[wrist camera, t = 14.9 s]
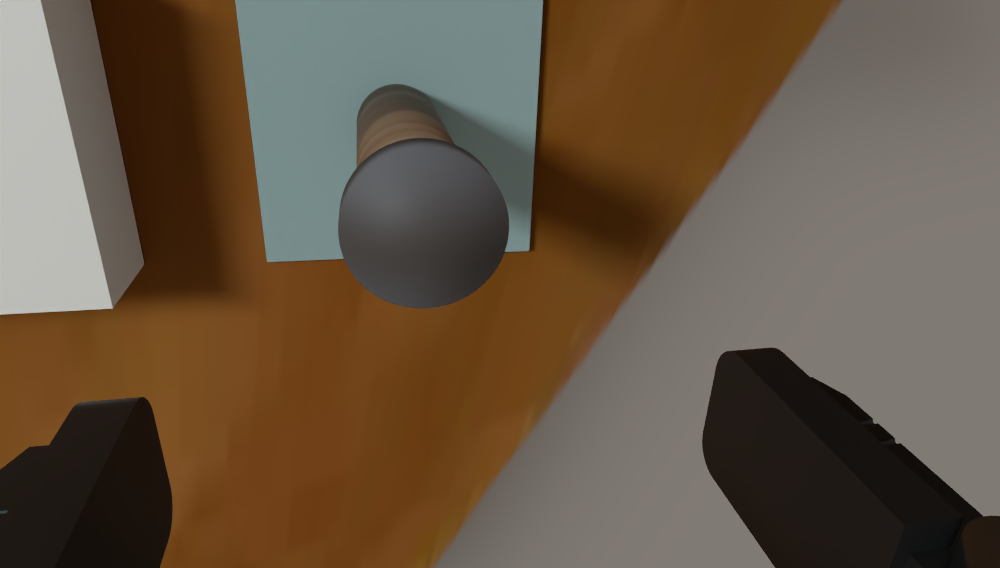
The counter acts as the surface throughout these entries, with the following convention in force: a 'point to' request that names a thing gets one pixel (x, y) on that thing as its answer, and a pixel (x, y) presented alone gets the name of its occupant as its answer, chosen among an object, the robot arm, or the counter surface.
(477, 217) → the pin
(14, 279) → the eye block
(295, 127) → the mat
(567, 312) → the counter surface
